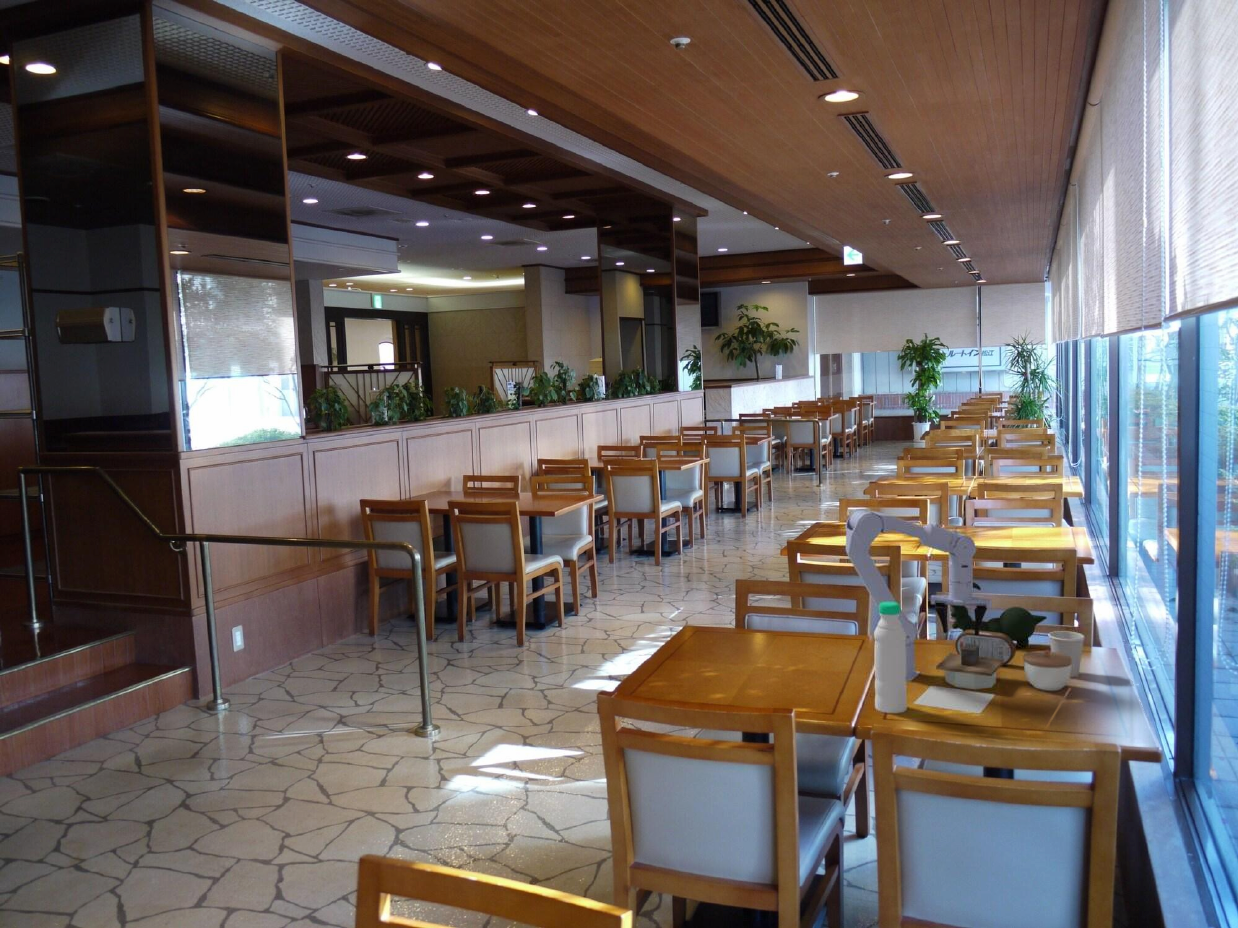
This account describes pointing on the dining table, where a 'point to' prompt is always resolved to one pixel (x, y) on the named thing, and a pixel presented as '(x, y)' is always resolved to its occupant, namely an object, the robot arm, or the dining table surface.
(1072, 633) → the dixie cup
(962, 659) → the lid
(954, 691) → the mat
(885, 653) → the water bottle
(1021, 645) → the toy figurine
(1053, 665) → the lidded jar
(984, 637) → the tin
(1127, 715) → the dining table surface
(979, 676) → the bowl
